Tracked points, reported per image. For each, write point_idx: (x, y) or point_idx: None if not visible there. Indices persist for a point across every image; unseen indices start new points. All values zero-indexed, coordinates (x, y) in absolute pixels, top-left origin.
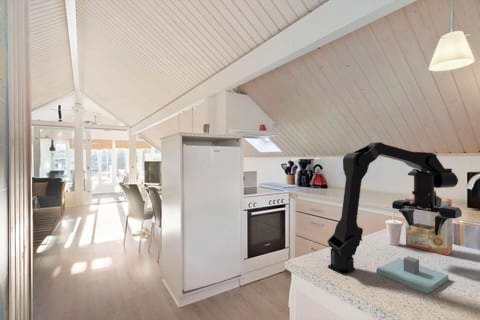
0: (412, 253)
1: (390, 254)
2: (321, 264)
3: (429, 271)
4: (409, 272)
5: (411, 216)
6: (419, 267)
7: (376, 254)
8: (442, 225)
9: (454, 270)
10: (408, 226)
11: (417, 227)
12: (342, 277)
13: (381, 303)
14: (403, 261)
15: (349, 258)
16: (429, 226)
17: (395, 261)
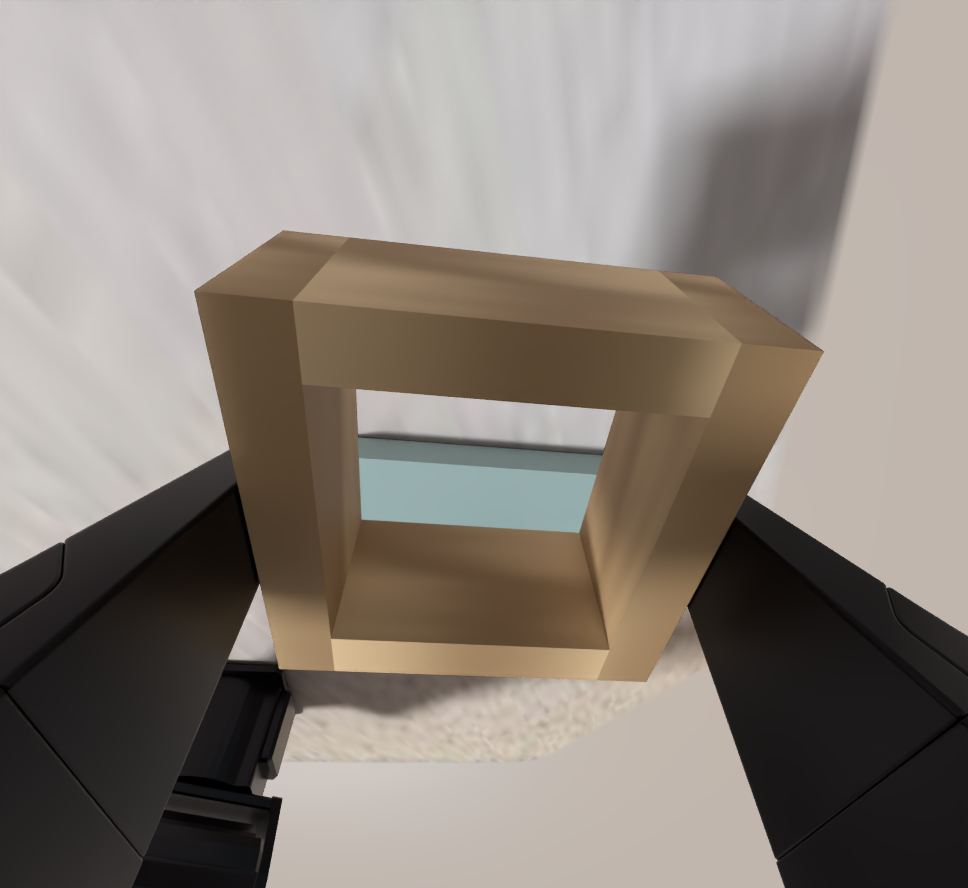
0: (286, 73)
1: (199, 321)
2: None
3: (565, 512)
4: None
5: (89, 747)
6: (504, 501)
7: (150, 415)
8: (898, 609)
9: (694, 257)
10: (286, 664)
11: (417, 644)
12: (305, 725)
13: (488, 749)
14: (392, 486)
15: (267, 773)
16: (560, 401)
17: None
